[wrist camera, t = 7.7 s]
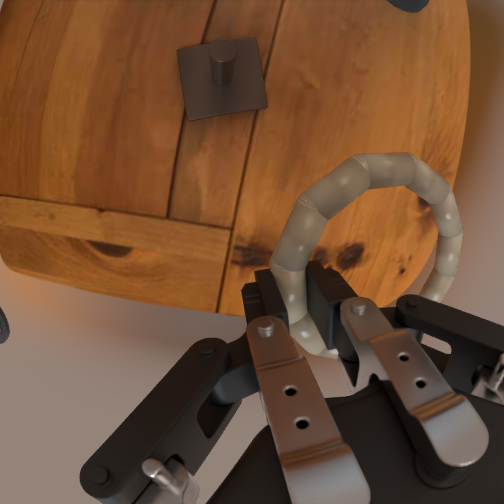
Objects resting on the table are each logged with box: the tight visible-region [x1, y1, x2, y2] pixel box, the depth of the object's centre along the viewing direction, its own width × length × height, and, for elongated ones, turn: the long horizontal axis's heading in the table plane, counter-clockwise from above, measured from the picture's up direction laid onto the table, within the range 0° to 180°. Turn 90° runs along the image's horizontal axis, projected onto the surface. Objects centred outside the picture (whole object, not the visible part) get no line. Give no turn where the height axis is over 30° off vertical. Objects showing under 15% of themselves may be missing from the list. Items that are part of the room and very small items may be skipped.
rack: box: [177, 38, 268, 121], centre depth 20 cm, size 8×8×10 cm
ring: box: [270, 152, 463, 359], centre depth 13 cm, size 11×11×2 cm
